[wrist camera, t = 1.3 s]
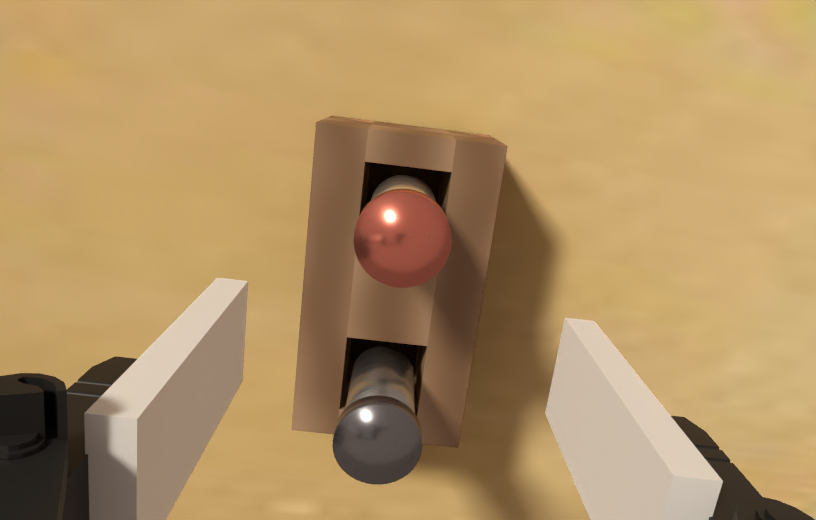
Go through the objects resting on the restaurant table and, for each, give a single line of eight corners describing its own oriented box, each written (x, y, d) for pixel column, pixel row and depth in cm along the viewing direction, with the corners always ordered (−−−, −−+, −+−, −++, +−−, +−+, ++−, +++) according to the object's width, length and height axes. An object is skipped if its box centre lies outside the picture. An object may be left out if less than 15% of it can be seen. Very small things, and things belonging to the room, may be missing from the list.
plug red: (360, 240, 34) (349, 282, 27) (368, 164, 33) (358, 186, 26) (436, 249, 34) (444, 292, 27) (446, 174, 33) (458, 198, 26)
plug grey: (344, 402, 37) (329, 479, 30) (350, 337, 36) (336, 401, 28) (413, 410, 37) (416, 488, 30) (423, 345, 36) (427, 411, 29)
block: (309, 376, 43) (291, 429, 37) (331, 115, 39) (316, 122, 32) (449, 391, 44) (458, 447, 37) (489, 135, 39) (507, 146, 32)
